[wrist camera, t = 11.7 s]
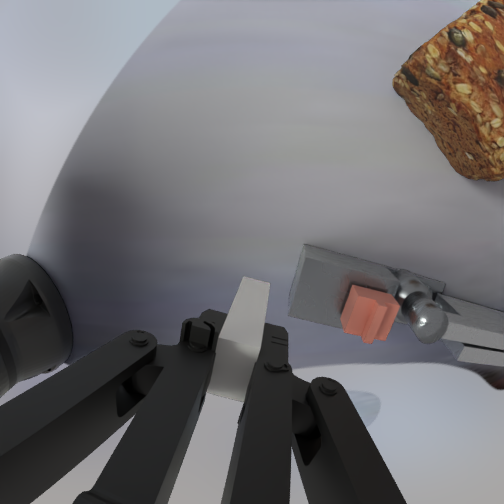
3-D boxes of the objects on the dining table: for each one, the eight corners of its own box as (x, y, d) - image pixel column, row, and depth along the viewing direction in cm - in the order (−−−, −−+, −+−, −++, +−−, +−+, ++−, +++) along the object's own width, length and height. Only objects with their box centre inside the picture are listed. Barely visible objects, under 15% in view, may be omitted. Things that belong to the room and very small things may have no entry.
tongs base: (289, 294, 25) (286, 340, 18) (304, 241, 24) (308, 270, 17) (529, 346, 23) (561, 378, 16) (545, 312, 22) (581, 339, 14)
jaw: (385, 300, 23) (410, 340, 17) (395, 273, 23) (426, 306, 16) (538, 338, 22) (568, 365, 15) (547, 319, 21) (579, 344, 15)
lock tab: (340, 318, 20) (346, 338, 18) (352, 284, 20) (360, 300, 17) (378, 327, 20) (388, 347, 17) (391, 294, 19) (403, 311, 17)
